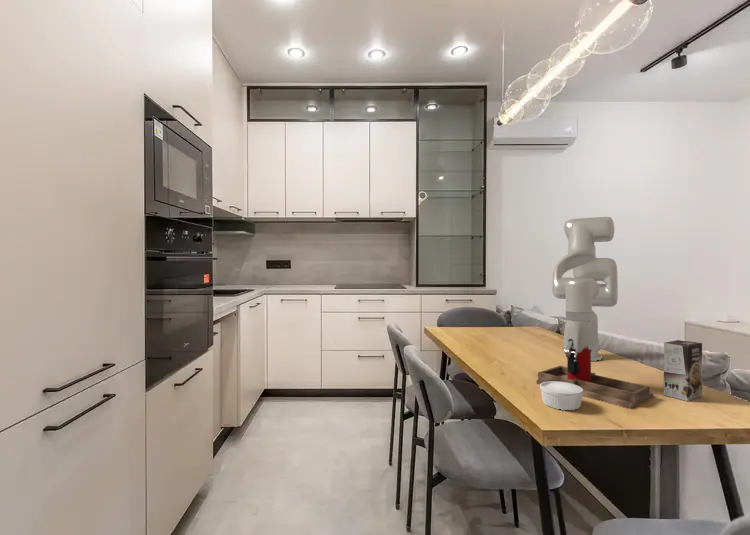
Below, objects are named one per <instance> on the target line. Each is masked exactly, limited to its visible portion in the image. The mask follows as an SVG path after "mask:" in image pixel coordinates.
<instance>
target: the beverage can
mask: <svg viewBox="0 0 750 535" xmlns="http://www.w3.org/2000/svg"><path fill="white" fill-rule="evenodd" d="M571 351H574V352H575V351H576V350H571ZM571 354H572V353H571ZM573 356H575V354H573ZM566 362H567V365H566V367H567V373H568V379H571V380H573V379H578V380H582V381H586V382H591V373H592V361H591V352H590V350H589V348H588V347H584V349H583V350H582V352H581V353H579V354H578V359H577V362H579V374H572V373H569V372H568V360H567V359H566Z"/></svg>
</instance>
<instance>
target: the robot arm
mask: <svg viewBox="0 0 750 535" xmlns="http://www.w3.org/2000/svg"><path fill="white" fill-rule="evenodd" d="M563 231H564V234H565V236H566V238H567V240H568V243H567V244H568V246H567V254H566V255H565V256H564V257H562V258H561V259H560V260H559V261H558V262H557V264H556V265H555V267H554V269H553V273H552V283H551V284H552V285H551V291H552V292H551V293H552V295H553V296H554V297H555V298H557V299H559V300H560V299H562V300H565V324H564V330H563V352H564V353H565V356H566V361H567V360H568V372H569V373H572V374H579V362H577V359H578V354H579V353H581V352H582V350H583V349H584V347H588V348H589V350H590V352H591V362H596V361H597V360H599V361H601V359H602V360H603V356H602V355H601V354H599V351H601V346H599V340H598V339H599V334H598V333H599V327H598V325H599V324H598V323H599V321H598V320H599V319H598V315H597V313H596V312H595V311H594V310H593V307H602V308H603V307H605V308H608V307H609V308H610V307H614V306H616V305H617V304H618V299H619V298H618V297H619V289H618V288H619V287H618V285H619V284H618V282H619V281H618V265H617V262H616V261H615V260H614V259H613V258H612V257H611V258H610V257H596V245H595V243H604V242H605V243H606V242H611V241H613V238H614V237H615V223H614V220H613V218H612V217H610V216H597V217H582V218H581V217H580V218H572V219H568V220H566V221H565V222H564V224H563ZM570 270H572V273H573V277H563V275H564V274H565V273H567V272H568V271H570ZM598 282H603V283H598ZM571 350H576V351H575V352H574V351H571ZM571 353H572V354H571ZM573 354H575V356H573ZM597 362H598V361H597Z"/></svg>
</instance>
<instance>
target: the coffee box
mask: <svg viewBox="0 0 750 535" xmlns="http://www.w3.org/2000/svg"><path fill="white" fill-rule="evenodd" d="M663 396H668V397H671V398H675V399H678V400H681V401H685V402H689V401H693V400H695V399H698V398H701V397H703V343H702V342H696V341H691V340H690V341H688V340H679V339H677V340H676V339H675V340H672V341H666V342H663Z"/></svg>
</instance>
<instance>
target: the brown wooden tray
mask: <svg viewBox="0 0 750 535" xmlns="http://www.w3.org/2000/svg"><path fill="white" fill-rule="evenodd" d="M535 381H536V384H537V385H540V384H541V383H543V382H549V381H557V382H566V383H571V384H575V385H577V386H579V387H581V388H582V389H583V395H582V397H585V396H586V398H589V397H590V398H589V399H592V398H594V399H593V400H596V399H597V400H596V401H600V400H601V401H600V402H603V401H605V402H604V403H607V402H608V404H611V403H612V404H611V405H614V404H615V406H618V405H619V407H623V408H625V407H626V408H627V409H629V408H630V409H629V410H631V408H632V409H634V408H635V407H637V406H638V404H639V405H641V404H642V402H643V403H644V402H646V401H648V400H650V399H651V398H653V397H654V393H653V392H651V390H650V386H648V385H643V384H639V383H634V382H630V381H625V380H620V379H616V378H611V377H606V376H602V375H597V374H596V372H595V373H594V372H591V382H586V381H582V380H578V379H573V380H571V379H568V373H567V366H563V365H558V366H554V367H552V368H548V369H545V370H541V371H538V372H537V380H535ZM640 403H641V404H640ZM636 405H637V406H636Z"/></svg>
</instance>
